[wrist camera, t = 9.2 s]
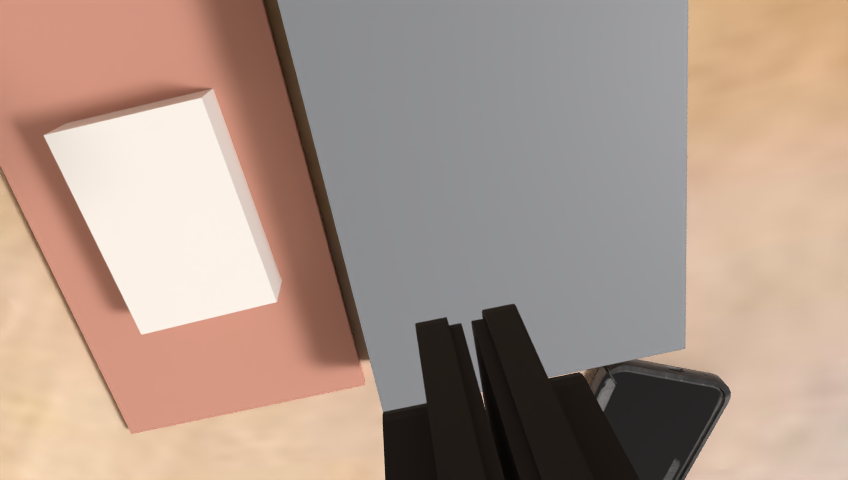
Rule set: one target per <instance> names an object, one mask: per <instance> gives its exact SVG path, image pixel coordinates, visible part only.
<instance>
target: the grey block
mask: <svg viewBox="0 0 848 480" xmlns="http://www.w3.org/2000/svg"><path fill="white" fill-rule="evenodd" d="M277 2H278V5H279V9H280V13H281V17H282V21H283V25H284V29H285V33H286V36H287V40H288V44H289V48H290V52H291V56H292V60H293V64H294V68H295V71H296V75H297V79H298V83H299V87H300V91H301V95H302V99H303V103H304V106H305V110H306V114H307V118H308V122H309V126H310V130H311V134H312V137H313V141H314V145H315V149H316V153H317V157H318V161H319V165H320V169H321V172H322V176H323V180H324V184H325V188H326V192H327V196H328V200H329V203H330V207H331V211H332V215H333V219H334V223H335V227H336V231H337V235H338V238H339V242H340V246H341V250H342V254H343V258H344V262H345V266H346V269H347V273H348V277H349V281H350V285H351V289H352V293H353V297H354V301H355V304H356V308H357V312H358V316H359V320H360V324H361V328H362V332H363V335H364V339H365V343H366V347H367V351H368V355H369V359H370V363H371V367H372V370H373V374H374V378H375V382H376V386H377V390H378V394H379V398H380V401H381V405H382V409H383V412H385V411H390V410H395V409H400V408H405V407H410V406H415V405H420V404H425V403H427V402H426V395H425V388H424V382H423V375H422V368H421V361H420V355H419V348H418V341H417V334H416V328H415V323H419V322H424V321H429V320H434V319H439V318H444V317H447V320H448V324H449V325H453V324H458V323H461V324H462V327H463V331H464V334H465V338H466V342H467V345H468V349H469V352H470V356H471V360H472V363H473V367H474V371H475V374H476V378H477V381H478V385H479V389H480V392H482V386H481V379H480V373H479V367H478V361H477V355H476V349H475V343H474V337H473V331H472V324H471V321H473V320H478V319H483V318H482V310H484V309H489V308H494V307H499V306H504V305H509V304H515V305H516V307H517V309H518V311H519V314H520V316H521V318H522V320H523V323H524V325H525V327H526V329H527V332H528V334H529V336H530V338H531V340H532V343H533V345H534V347H535V349H536V352H537V354H538V356H539V358H540V361H541V363H542V365H543V367H544V370H545V372H546V374H547V376H548V378H549V377H553V376H558V375H563V374H568V373H572V372H577V371H582V370H587V369H591V368H596V367H601V366H606V365H610V364H615V363H620V362H625V361H629V360H634V359H639V358H643V357H648V356H653V355H658V354H662V353H667V352H672V351H677V350H681V349H685V328H686V210H687V92H688V0H277Z"/></svg>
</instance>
